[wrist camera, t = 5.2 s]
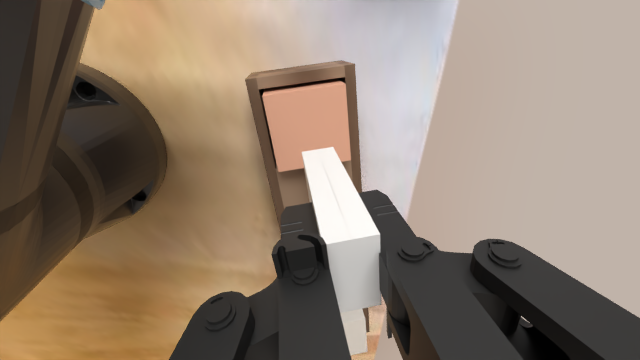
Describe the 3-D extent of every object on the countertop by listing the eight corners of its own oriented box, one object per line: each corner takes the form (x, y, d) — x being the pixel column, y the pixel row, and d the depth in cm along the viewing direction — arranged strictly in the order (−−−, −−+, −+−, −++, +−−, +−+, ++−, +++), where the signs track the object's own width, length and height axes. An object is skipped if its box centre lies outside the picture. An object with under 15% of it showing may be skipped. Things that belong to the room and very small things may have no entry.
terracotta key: (278, 150, 26) (278, 172, 22) (265, 86, 24) (262, 96, 19) (339, 140, 27) (351, 160, 22) (333, 76, 24) (345, 83, 19)
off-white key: (312, 323, 36) (317, 362, 31) (306, 291, 33) (310, 330, 29) (356, 314, 36) (367, 351, 32) (354, 282, 34) (365, 318, 29)
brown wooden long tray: (303, 310, 39) (306, 344, 35) (251, 73, 24) (245, 79, 20) (359, 299, 40) (369, 331, 35) (341, 60, 25) (354, 64, 20)
